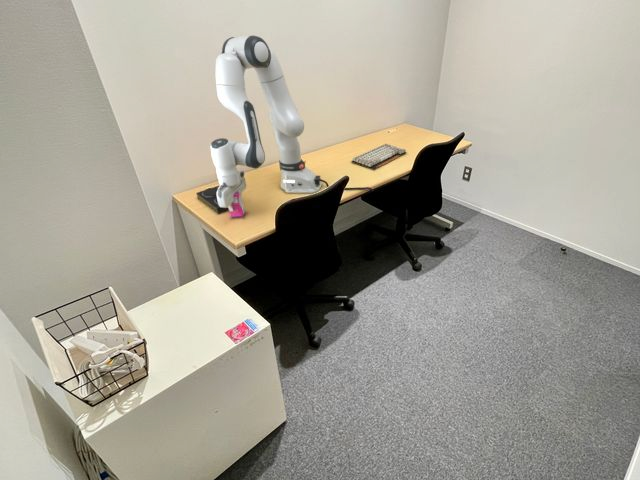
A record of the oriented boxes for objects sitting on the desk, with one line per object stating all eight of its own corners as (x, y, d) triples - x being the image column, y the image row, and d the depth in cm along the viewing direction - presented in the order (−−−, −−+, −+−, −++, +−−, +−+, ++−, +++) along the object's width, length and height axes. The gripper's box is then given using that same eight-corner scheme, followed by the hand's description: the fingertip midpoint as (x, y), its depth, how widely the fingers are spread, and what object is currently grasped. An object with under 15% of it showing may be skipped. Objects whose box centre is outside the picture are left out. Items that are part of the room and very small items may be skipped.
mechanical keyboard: (374, 170, 197) (374, 164, 195) (349, 162, 207) (349, 157, 205) (407, 153, 220) (407, 148, 218) (384, 147, 230) (384, 142, 228)
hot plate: (243, 204, 162) (241, 198, 160) (218, 214, 155) (216, 207, 153) (221, 190, 174) (219, 183, 172) (197, 198, 167) (195, 191, 164)
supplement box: (233, 211, 156) (227, 189, 149) (245, 211, 156) (240, 189, 149) (230, 217, 152) (224, 195, 144) (243, 217, 152) (237, 195, 144)
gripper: (223, 189, 134) (231, 218, 143) (245, 169, 150) (251, 197, 158) (209, 188, 135) (218, 217, 144) (232, 168, 150) (239, 195, 159)
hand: (236, 206), depth 151 cm, fingers closed on supplement box, 6 cm apart
